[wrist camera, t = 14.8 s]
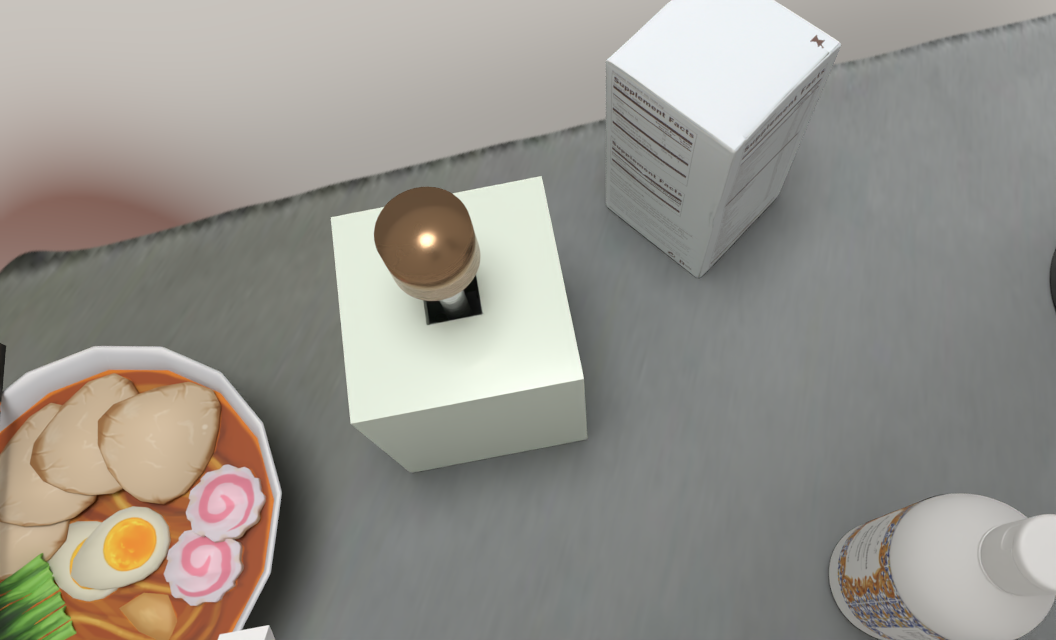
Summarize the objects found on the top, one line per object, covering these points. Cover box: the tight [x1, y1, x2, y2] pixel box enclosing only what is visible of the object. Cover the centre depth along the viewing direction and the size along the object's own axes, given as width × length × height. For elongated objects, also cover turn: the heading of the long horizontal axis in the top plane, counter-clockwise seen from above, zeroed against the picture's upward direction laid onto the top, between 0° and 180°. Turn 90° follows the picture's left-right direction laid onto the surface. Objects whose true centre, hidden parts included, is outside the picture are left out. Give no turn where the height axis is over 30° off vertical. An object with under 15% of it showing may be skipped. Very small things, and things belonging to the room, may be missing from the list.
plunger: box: [374, 187, 483, 325], centre depth 45 cm, size 9×9×19 cm
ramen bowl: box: [0, 343, 282, 640], centre depth 50 cm, size 25×23×8 cm
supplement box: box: [606, 0, 841, 278], centre depth 51 cm, size 10×9×17 cm
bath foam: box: [829, 493, 1056, 640], centre depth 40 cm, size 7×7×20 cm
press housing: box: [331, 176, 587, 473], centre depth 49 cm, size 12×12×14 cm
